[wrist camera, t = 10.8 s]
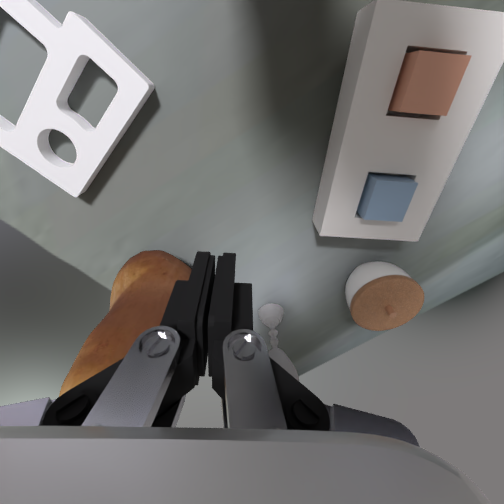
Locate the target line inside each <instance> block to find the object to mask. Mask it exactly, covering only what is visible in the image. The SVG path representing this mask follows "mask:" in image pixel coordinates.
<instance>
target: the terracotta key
mask: <svg viewBox="0 0 504 504" xmlns="http://www.w3.org/2000/svg"><path fill="white" fill-rule="evenodd" d="M470 59H471V55H461V54H451V53H441V52H432V51H422V50H419V51H414V52H410V53H405V56H404V59H403V62H402V66H401V69H400V72H399V75H398V78H397V82H396V85H395V88H394V91H393V95H392V98H391V101H390V104H389V108H388V110H390V111H397V112H406V113H417V114H429V115H440V116H447V114H448V111H449V109H450V106H451V104H452V102H453V99H454V97H455V95H456V92H457V90H458V87H459V85H460V83H461V80H462V78H463V75H464V73H465V71H466V68H467V66H468V64H469V61H470Z"/></svg>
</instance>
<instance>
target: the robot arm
mask: <svg viewBox="0 0 504 504" xmlns="http://www.w3.org/2000/svg"><path fill="white" fill-rule="evenodd" d="M235 260H236V253H223V256H218V262H217V268H216V274H215V256H213V255H210V252H200V251H198V252H197V254H196V257H195V261H194V264H193V267H192V270H191V274H190V277H189V280H177V281H176V282H175V285H174V287H173V290H172V293H171V296H170V298H169V301H168V304H167V307H166V309H165V312H164V315H163V317H162V320H161V323H160V326H156V327H152V328H150V329H147V330H146V331H144V332H143V333H141V334H140V335H139V336H138V338H137V339H136V340H135V342H134V343H133V345H132V346H131V348H130V350H129V351H128V353H127V354H126V356H125V357H124V358H122V359H121V360H119V361H117V362H116V363H114V364H112V365H111V366H109V367H107V368H106V369H104V370H102V371H100V372H99V373H97V374H95V375H94V376H92V377H90V378H89V379H87V380H85V381H84V382H82V383H80V384H78V385H77V386H75V387H73V388H72V389H70V390H68V391H67V392H65V393H64V394H62V395H61V396H60V397H58V398H57V399H55V400H50V398H49V397H48V398H42V399H36V400H31V401H26V402H20V403H15V404H10V405H4V406H0V504H492V503H491V502H490V501H489V499H488V498H487V497H486V496H485V495H484V493H483V492H482V491H481V490H480V489H479V487H478V486H477V485H476V484H475V483H474V482H473V481H472V480H471V479H470V478H469V477H468V476H466V474H464V473H463V472H462V471H460V470H459V469H458V468H457V467H455V466H453V465H452V464H451V463H449V462H447V461H446V460H444V459H442V458H440V457H439V456H437V455H435V454H433V453H431V452H429V451H427V450H425V449H423V448H421V447H420V446H419V444H418V442H417V439H416V437H415V436H414V435H413V434H412V432H411V431H410V430H409V429H408V428H407V427H406V426H404V425H403V424H402V423H400V422H398V421H396V420H393V419H390V418H386V417H382V416H379V415H375V414H371V413H368V412H364V411H360V410H356V409H352V408H348V407H345V406H341V405H337V404H333V406H328V405H325V404H323V403H322V401H321V400H320V399H319V398H318V397H316V396H315V395H314V394H313V393H312V392H311V391H310V390H308V389H307V388H306V387H305V386H304V385H302V384H301V383H300V382H299V381H298V380H297V379H295V378H294V377H293V376H292V375H291V374H289V373H288V372H287V371H286V370H285V369H284V368H282V367H281V366H280V365H279V364H278V363H276V362H275V361H274V360H273V359H272V358H270V357H269V355H268V351H267V347H266V343H265V341H264V339H263V338H262V337H261V336H260V334H258V333H256V332H255V331H253V310H252V284H250V283H234V279H235ZM207 356H208V366H209V367H208V368H209V376H210V377H211V376H212V388H213V389H214V390H215V391H216V392H217V394H218V395H219V396H220V397H221V405H222V419H223V428H176V425H177V422H178V419H179V416H180V413H181V410H182V407H183V405H184V402H185V397H186V394H187V393H188V392H189V391H190V390H192V389H193V388H194V386H195V385H198V381H199V376H205V370H206V363H207Z"/></svg>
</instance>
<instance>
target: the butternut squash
mask: <svg viewBox="0 0 504 504" xmlns="http://www.w3.org/2000/svg"><path fill="white" fill-rule="evenodd" d="M191 270H192V269H191V268H190V267H189V266H187V265H186V264H185V263H183V262H182V261H180V260H179V259H177V258H176V257H174V256H173V255H171V254H169V253H167V252H164V251H160V250H154V251H142V252H140V253H139V254H137V255H135V256H133V257H131V258H130V259H129V260H128V261H127V262H126V263H125V264H124V266H123V267H122V268H121V270H120V271H119V273H118V274H117V276H116V278H115V280H114V283H113V287H112V292H111V300H110V311H109V313H108V314H107V315H106V316H105V318H104V319H103V320H102V321H101V322H100V323H99V324H98V325H97V327H96V328H95V329H94V330H93V331H92V332H91V334H90V335H89V337H88V338H87V340H86V341H85V343H84V345H83V346H82V348H81V350H80V352H79V354H78V356H77V357H76V360H75V362H74V363H73V365H72V367H71V369H70V371H69V373H68V375H67V377H66V378H65V380H64V382H63V385H62V387H61V391H60V395H59V397H60V396H61V395H62V394H64V393H65V392H67V391H68V390H70V389H72V388H73V387H75V386H77V385H78V384H80V383H82V382H84V381H85V380H87V379H89V378H90V377H92V376H94V375H95V374H97V373H99V372H100V371H102V370H104V369H106V368H107V367H109V366H111V365H112V364H114V363H116V362H117V361H119V360H121V359H122V358H124V357H125V356H126V354H127V353H128V351H129V350H130V348H131V346H132V345H133V343H134V342H135V340H136V339H137V338H138V336H139V335H140V334H141V333H143V332H144V331H146V330H147V329H150V328H152V327H156V326H160V323H161V320H162V317H163V315H164V312H165V309H166V307H167V304H168V301H169V298H170V296H171V293H172V290H173V287H174V285H175V282H176V281H177V280H189V277H190V274H191Z"/></svg>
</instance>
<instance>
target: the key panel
mask: <svg viewBox="0 0 504 504" xmlns="http://www.w3.org/2000/svg"><path fill="white" fill-rule="evenodd" d="M419 50H422V51H432V52H441V53H451V54H461V55H471V59H470V61H469V64H468V66H467V68H466V71H465V73H464V75H463V78H462V80H461V83H460V85H459V87H458V90H457V92H456V95H455V97H454V99H453V102H452V104H451V106H450V109H449V111H448V114H447V116H440V115H429V114H417V113H406V112H397V111H390V110H388V108H389V104H390V101H391V98H392V95H393V91H394V88H395V85H396V82H397V78H398V75H399V72H400V69H401V66H402V62H403V59H404V56H405V53H410V52H414V51H419ZM503 61H504V12H497V11H488V10H479V9H470V8H462V7H453V6H444V5H435V4H426V3H417V2H408V1H400V0H374V1H373V2H371V3H370V4H368V5H367V6H365V7H364V8H362V9H361V10H359V11H358V12H357V16H356V20H355V25H354V29H353V34H352V39H351V43H350V48H349V52H348V57H347V62H346V66H345V71H344V75H343V80H342V85H341V89H340V94H339V98H338V103H337V108H336V112H335V117H334V121H333V126H332V131H331V135H330V140H329V144H328V149H327V154H326V158H325V163H324V167H323V172H322V177H321V181H320V186H319V190H318V195H317V200H316V204H315V209H314V213H313V218H312V221H313V223H314V225H315V227H316V229H317V231H318V233H319V235H320V236H332V237H349V238H365V239H382V240H399V241H416V242H418V240H419V238H420V236H421V234H422V232H423V230H424V228H425V226H426V223H427V221H428V219H429V217H430V215H431V213H432V211H433V209H434V207H435V205H436V202H437V200H438V198H439V196H440V194H441V192H442V190H443V188H444V186H445V183H446V181H447V179H448V177H449V175H450V173H451V171H452V169H453V167H454V165H455V162H456V160H457V158H458V156H459V154H460V152H461V150H462V148H463V146H464V144H465V141H466V139H467V137H468V135H469V133H470V131H471V129H472V127H473V125H474V122H475V120H476V118H477V116H478V114H479V112H480V110H481V108H482V106H483V104H484V101H485V99H486V97H487V95H488V93H489V91H490V89H491V87H492V85H493V83H494V80H495V78H496V76H497V74H498V72H499V70H500V68H501V66H502V64H503ZM368 173H373V174H386V175H400V176H406V177H408V178H410V179H412V180H414V181H415V182H417V183H418V185H417V188H416V190H415V192H414V195H413V197H412V200H411V202H410V204H409V207H408V209H407V212H406V214H405V216H404V219H403V221H402V222H395V221H379V220H364V219H363V218H362V217H361V216H360V215H359V214H358V212H357V208H358V204H359V201H360V198H361V195H362V191H363V188H364V185H365V182H366V179H367V175H368Z"/></svg>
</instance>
